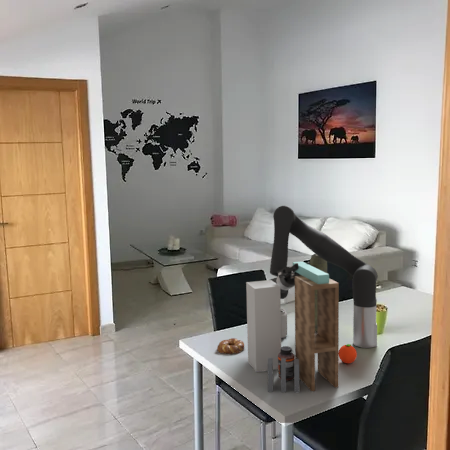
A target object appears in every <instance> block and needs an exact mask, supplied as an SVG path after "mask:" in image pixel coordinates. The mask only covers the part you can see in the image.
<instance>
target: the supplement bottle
mask: <svg viewBox="0 0 450 450" xmlns="http://www.w3.org/2000/svg"><path fill="white" fill-rule="evenodd" d="M281 358H286V382H287V381H293V380H294V359H295V353H294V352H293V350H292V347H291V346H289V345H287V346H286V345H283V346H281V352H280V353H279V354H278V369H277V371H278V372H277V373H278V374H277V375H278V379H280V380H281Z"/></svg>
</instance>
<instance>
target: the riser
mask: <svg viewBox="0 0 450 450" xmlns="http://www.w3.org/2000/svg"><path fill="white" fill-rule="evenodd" d="M245 284H246V285H245V286H246V287H245V288H246V289H245V290H246V322H247V325H246V329H247V332H246V333H247V362H248V364H249V365H250V367H252V369H253V370H254V371H255V372H256V373H261V372H268V358H273V371H274V370H278V354H279V353H280V352H281V347H282V338H281V309H282V307H281V299H280V286H279V285H278V284H276V283H275V282H273V281H272V280H270V279H267V280H255V281H246V282H245Z"/></svg>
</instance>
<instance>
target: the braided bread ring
mask: <svg viewBox="0 0 450 450" xmlns="http://www.w3.org/2000/svg"><path fill="white" fill-rule="evenodd" d="M216 350H217V352H218V353H220V354H227V355H233V354H240V353H241V352H243V350H245V342H244V341H243V340H241V339H238V338H235V337H231V338H229V339H223V340H220V342H219V343H218V345H217V349H216Z"/></svg>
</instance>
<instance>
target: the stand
mask: <svg viewBox="0 0 450 450" xmlns="http://www.w3.org/2000/svg"><path fill="white" fill-rule="evenodd" d="M339 284H340V283H339V282H337V281H335V280H334V279H331V278H330V277H329V283H325V284H317V283H315V282H313V281H311V280H310V279H308V278H306V277H304V276H295V286H294V332H295V333H294V335H295V337H294V339H295V341H294V342H295V343H294V345H295V347H294V348H295V349H294V350H295V351H294V357H295V359H299V381H301V382H302V383H303V384H304V385H305V386H306V387H307V388H308V390H310V391H311V392H315V391H316V365H315V364H316V358H315V357H316V356H315V355H316V354H317V372H318V373H319V374H320V375H321V377H322V378H324V379H325V380H326V381H328V383H329V384H330V385H332V386H333V387H334V388H339V354H338V353H339V349H340V347H339V345H340V344H339V340H340V339H339V336H340V335H339V332H340V331H339V330H340V329H339V323H340V322H339V320H340V319H339V318H340V317H339V316H340V315H339V310H340V309H339V308H340V307H339V306H340V303H339V300H340V299H339V298H340V296H339V294H340V292H339V290H340V289H339V287H340V286H339ZM315 290H317V333H315Z"/></svg>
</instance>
